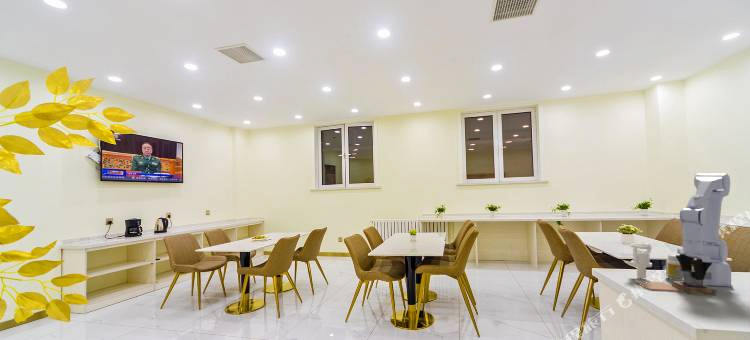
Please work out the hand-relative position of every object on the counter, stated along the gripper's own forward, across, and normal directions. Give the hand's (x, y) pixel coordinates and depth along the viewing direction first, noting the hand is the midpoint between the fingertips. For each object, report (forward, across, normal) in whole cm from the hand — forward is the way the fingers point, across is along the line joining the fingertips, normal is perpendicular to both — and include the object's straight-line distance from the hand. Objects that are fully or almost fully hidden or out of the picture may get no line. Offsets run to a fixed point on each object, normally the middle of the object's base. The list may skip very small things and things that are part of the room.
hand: (693, 277), depth 133 cm
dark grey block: (+5, 0, 0) cm, 5 cm away
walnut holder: (+5, 0, 0) cm, 5 cm away
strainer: (+5, -14, -10) cm, 18 cm away
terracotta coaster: (+5, -2, -11) cm, 12 cm away
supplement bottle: (+5, -16, +3) cm, 17 cm away
